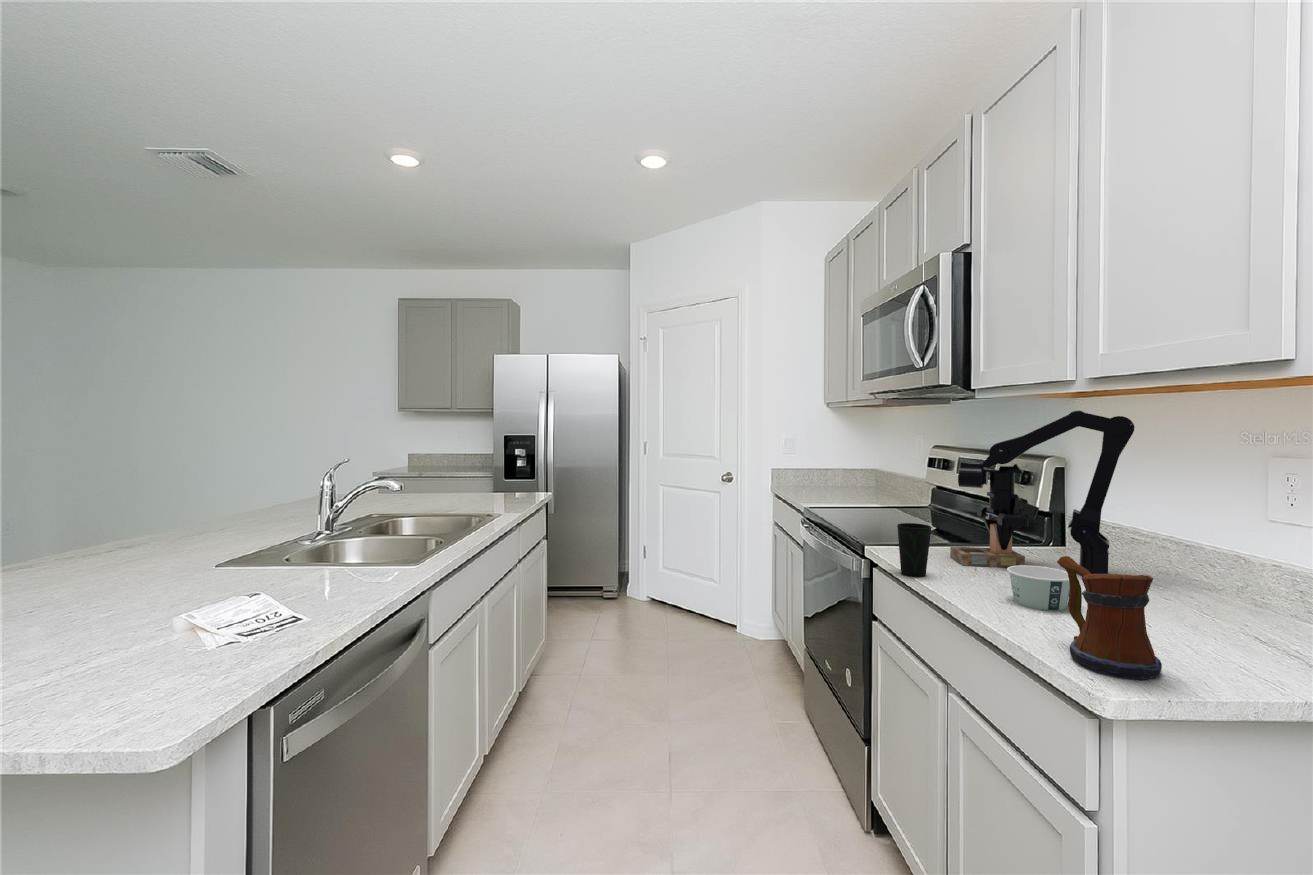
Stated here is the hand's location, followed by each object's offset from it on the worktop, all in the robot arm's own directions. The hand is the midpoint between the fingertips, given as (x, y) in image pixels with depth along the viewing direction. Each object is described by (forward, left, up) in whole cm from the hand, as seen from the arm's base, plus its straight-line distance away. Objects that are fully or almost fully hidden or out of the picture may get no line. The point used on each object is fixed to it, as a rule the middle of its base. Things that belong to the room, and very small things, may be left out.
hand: (1000, 548), depth 161 cm
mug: (-67, +10, -4) cm, 68 cm away
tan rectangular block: (0, 0, -3) cm, 3 cm away
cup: (-17, +26, -4) cm, 31 cm away
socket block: (0, +4, -4) cm, 5 cm away
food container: (-37, +6, -4) cm, 38 cm away
